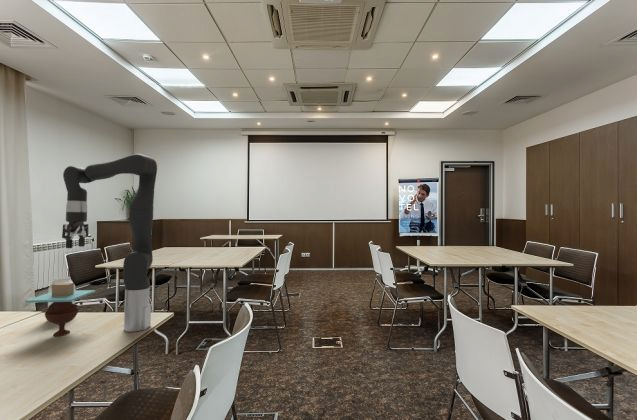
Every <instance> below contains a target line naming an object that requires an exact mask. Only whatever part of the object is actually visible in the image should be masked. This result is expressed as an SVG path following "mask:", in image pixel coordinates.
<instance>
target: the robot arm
mask: <svg viewBox="0 0 637 420" xmlns="http://www.w3.org/2000/svg"><path fill="white" fill-rule="evenodd" d="M157 164H158V163H157V161H156V160H155V159H154V158H153V157H151V156H147V155H146V154H145V155H144V154H142V153H134V154H131V155H128V156H124V157H121V158H119V159H116V160H112V161H108V162H100V163H95V164H90V165H87V166H86V167H80V166H75V165H69V166H67V167H66V168H64V171H63V175H62V177H63V182H64V186H65V189H66V191H67V197H66V204H65V205H66V206H65V221H66V222H67V223H68V224H62V234H61V238H62V239H64V240H65V248H66V249H73V248H74V247H73V242H74V241H73V240H74V237H75V236H78V247H79V248H81V247H85V245H86V244H85V243H86V239H87V237H89V224H88V223H87V222H88V191H87V189H86V188H84V187H81V184H90V183H92V182H95V181H99V180H105V179H110V178H113V177H115V176H117V175H122V174H124V175H125V174H127V175H128V174H129V175H135V176H138V178H139V179H138V186H137V190H136V193H135V194H134V196H133V197H132V199H131V202H130V203H129V208H128V209H129V210H128V212H129V214H128V216H129V217H128V222H129V227H130V231H131V233H132V239H133V240H132V241H133V245H132V251H131V252H130V253H128V254H127V255H126V256H125V258H124V260H123V264H122V265H123V266H122V268H123V269H122V270H123V272H122V273H123V275H122V276H123V278H122V279H123V285H124V310H123V311H124V317H123V323H124V324H123V330H124V331H125V332H129V333H131V332H139V331H145V330H147V329H148V328H149V327H150V326H151V321H152V319H151V318H152V317H151V316H152V304H151V303H150V293H151V292H150V291H151V290H150V287H151V283H150V282H151V281H150V280H149V279H148V269H149V268H150V267H151V266H152V264H153V244H152V239H153V238H152V236H153V235H152V234H153V224H154V223H153V222H154V220H153V219H154V201H155V199H154V198H155V187H156V186H155V185H156V179H157V173H158V165H157Z"/></svg>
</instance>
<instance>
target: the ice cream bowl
mask: <svg viewBox="0 0 637 420" xmlns="http://www.w3.org/2000/svg"><path fill="white" fill-rule="evenodd" d="M79 310H80V307H78V305H77V304H72V302H53V303H52V304H51V305H49V307H48V306H47V310H46V311H45V313H44V317H45V319H46V320H47V322H50V323H51V324H54V325H58V326H59V328H58V330H56V331H55V332H54V333H53V335H52V336H53V337H62V336H66V335H69V334H71V330H69V329H66V326H65V325H66V324H67V323H69V322H71V321H72V320H74V319H75V318H76V316H77V315H78V313H79Z"/></svg>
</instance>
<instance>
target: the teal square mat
mask: <svg viewBox="0 0 637 420" xmlns="http://www.w3.org/2000/svg"><path fill="white" fill-rule="evenodd" d="M74 285H75V283H74V282H73V283H57V284H54V285H52V292H50V293H48V292H47V293H43V294H41V295H38V296H34V297H31V298H29V299H26V300H25V301H24V302H25V304H27V303H31V304H32V303H48V302H72V301H74V300H75V301H76V300H79V299H81V298H84V297H86V296H89V295H92V294H94V293H96V290H95V289H94V290H93V289H92V290H91V289H89V290H87V289H84V290H80V289H79V290H77V289H75V291H74Z"/></svg>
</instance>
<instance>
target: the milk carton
mask: <svg viewBox="0 0 637 420" xmlns="http://www.w3.org/2000/svg"><path fill="white" fill-rule="evenodd" d="M57 283H74V282H73V280H72V279H71V276H67V277H60V278H54V279H53V281H52V283H51V284H50V286H49V287H48V288H47V289H48V292H47V293H50V292H52V285H54V284H57ZM75 290H76V285H75V284H74V291H75ZM75 301H76V300H74V301H72V304H75V303H76V302H75ZM52 303H53V302H47V308H48V307H49V305H51V304H52ZM75 305H76V304H75Z"/></svg>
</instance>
